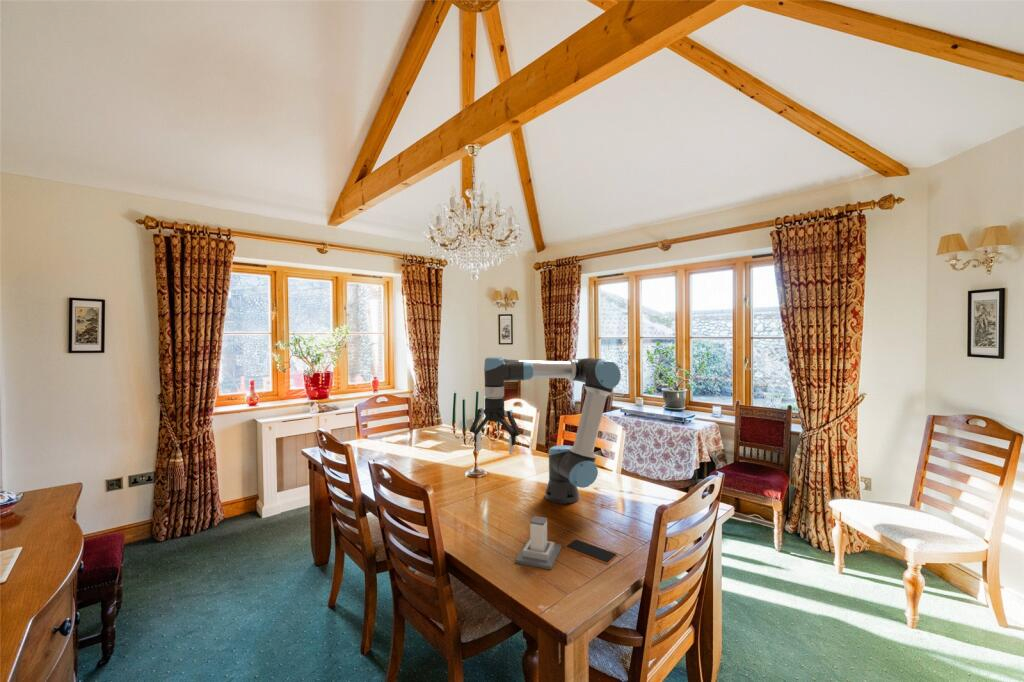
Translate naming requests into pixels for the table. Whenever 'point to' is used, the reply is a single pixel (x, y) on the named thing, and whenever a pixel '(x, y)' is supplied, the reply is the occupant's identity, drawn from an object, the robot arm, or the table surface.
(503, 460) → the table surface
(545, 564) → the dock
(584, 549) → the smartphone
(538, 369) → the robot arm
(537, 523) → the block
